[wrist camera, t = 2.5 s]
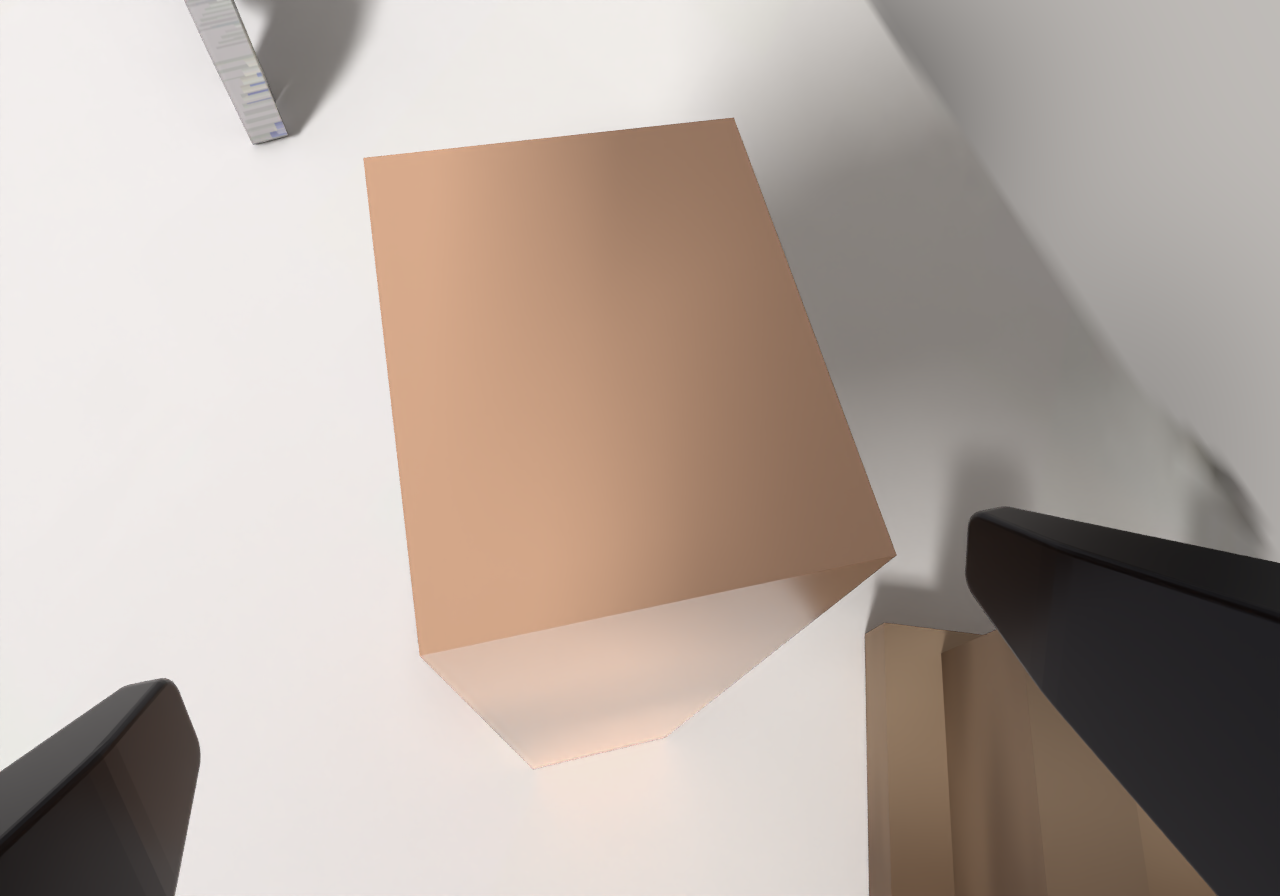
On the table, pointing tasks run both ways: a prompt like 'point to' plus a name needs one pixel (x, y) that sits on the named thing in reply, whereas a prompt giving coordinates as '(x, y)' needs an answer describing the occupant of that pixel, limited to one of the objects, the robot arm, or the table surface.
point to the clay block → (607, 430)
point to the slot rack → (993, 783)
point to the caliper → (238, 67)
